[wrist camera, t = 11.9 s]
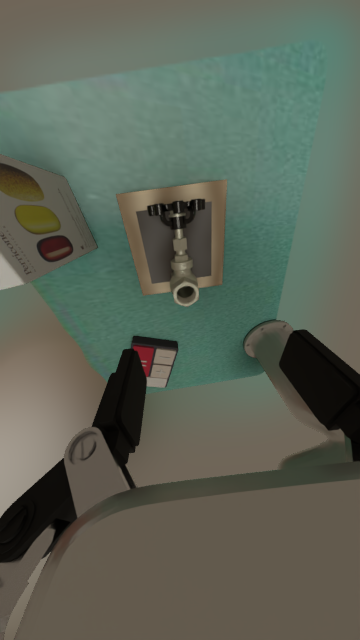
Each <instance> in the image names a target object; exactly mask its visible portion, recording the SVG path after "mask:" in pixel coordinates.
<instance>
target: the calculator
mask: <svg viewBox="0 0 360 640" xmlns="http://www.w3.org/2000/svg"><path fill="white" fill-rule="evenodd" d="M131 349H134V350H135V351H138V354H139V357H140V360H141V363H142V366H143V369H144V372H145V375H146V378H147V386H152V387H166V386H167V383H168V380H169V377H170V374H171V371H172V368H173V364H174V361H175V358H176V355H177V352H178V343H177V342H176V341H169V340H162V339H154V338H147V337H139V336H134V337H133V340H132V344H131Z"/></svg>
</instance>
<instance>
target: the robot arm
mask: <svg viewBox="0 0 360 640" xmlns="http://www.w3.org/2000/svg"><path fill="white" fill-rule="evenodd" d="M244 350H245V351H246V353H247V354H248V355H249V356H251V357H253V358H257V359H258V361H259V363H260V364H261V366H262V367H263V369H264V371H265V372H266V374H267V375H268V377H269V378H270V380H271V382H272V383H273V385H274V387H275V388H276V390H277V391H278V393H279V394H280V396H281V398H282V399H283V401H284V402H285V404H286V406H287V407H288V409H289V410H290V412H291V413H292V414H293V416H294V417H295V418H296V419H298V420H299V421H300V422H301V423H303V424H304V425H306V426H308V427H310V428H312V429H314V430H316V431H318V432H320V433H322V434H324V435H326V436H327V438H328V439H327V441H326V442H323V443H321V444H320V445H317V446H314V447H311V448H308V449H306V450H302V451H300V452H297V453H294V454H291V455H289V456H286V457H285V458H283V459H282V460H281V461H280V463H279V465H278V470H272V471H264V472H255V473H246V474H237V475H229V476H220V477H211V478H203V479H194V480H185V481H178V482H171V483H163V484H156V485H149V486H145V487H139V488H138V486H137V484H136V482H135V480H134V478H133V476H132V474H131V472H130V470H129V468H128V467H127V464H126V463H127V462H128V457H129V453H134V452H135V446H138V445H139V441H140V433H141V426H142V418H143V410H144V402H145V394H146V386H147V378H146V375H145V372H144V369H143V366H142V363H141V360H140V357H139V354H138V351H135V350H134V349H124V350H123V352H122V355H121V358H120V361H119V364H118V367H117V370H116V372H115V373H112V374H111V375H110V377H109V380H108V383H107V386H106V388H105V391H104V394H103V397H102V399H101V402H100V405H99V408H98V411H97V413H96V416H95V419H94V422H93V425H92V427H88V428H85V429H83V430H82V431H80V432H79V433H78V434H77V435H75V436H74V437H73V439H72V440H71V441H70V443H69V444H68V446H67V449H66V451H65V454H64V458H63V459H62V460H61V461H60V462H58V463H57V464H56V465H55V466H54V467H53V468H52V469H51V470H50V471H49V472H47V473H46V474H45V475H44V476H43V477H42V478H41V479H39V480H38V481H37V482H36V483H35V484H34V485H33V486H32V487H31V488H30V489H28V490H27V491H26V492H25V493H24V494H23V495H22V496H21V497H19V498H18V499H17V500H16V501H15V502H14V503H13V504H12V505H11V506H10V507H9V508H8V509H7V510H6V511H5V512H4V514H3V515H2V516H1V518H0V640H4V634H5V629H6V626H7V623H8V620H9V617H10V614H11V613H12V611H13V609H14V607H15V605H16V603H17V601H18V599H19V598H20V596H21V594H22V593H23V592H24V590H25V588H26V587H27V585H28V584H29V583H28V582H27V580H28V579H29V577H30V576H31V574H32V573H33V571H34V570H35V568H36V566H37V565H38V563H39V562H40V560H41V559H42V558H44V557H46V556H47V555H48V554H49V552H51V553H50V555H49V557H48V559H47V561H46V563H45V565H44V567H43V569H42V572H41V574H40V576H39V578H38V581H37V583H36V585H35V587H34V590H33V592H32V595H31V597H30V600H29V602H28V604H27V607H26V609H25V612H24V615H23V617H22V620H21V622H20V625H19V627H18V630H17V633H16V635H15V638H14V640H360V374H358V373H357V372H356V371H355V370H354V369H352V368H351V367H350V366H349V365H348V364H346V363H345V362H344V361H343V360H341V359H340V358H339V357H338V356H337V355H336V354H334V353H333V352H332V351H331V350H329V349H328V348H327V347H326V346H325V345H324V344H322V343H321V342H320V341H319V340H318V339H316V338H315V337H314V336H313V335H312V334H311V333H309V332H308V331H307V330H295V331H293V328H292V327H291V326H290V325H289V324H288V323H287V322H284V321H280V320H273V321H268V322H265V323H262V324H260V325H258V326H257V327H255V328H254V329H253V330H251V331H250V332H249V333H248V335H247V336H246V338H245V340H244Z"/></svg>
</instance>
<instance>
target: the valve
mask: <svg viewBox="0 0 360 640" xmlns="http://www.w3.org/2000/svg"><path fill="white" fill-rule="evenodd" d="M184 209H188V211H190V216H189V218H188V219H186V213H184ZM204 209H205V199H201V198H200V199H192V200H191V201H186V202H183V200H181V201H173V202H172V203H170V204H164V203H159V204H153V205H149V206H147V210H148V215H149V216H154V214H155V216H159V215H160V220H161V222H162V223H163V224H164V225H165V226H170V229H171V230H175V238H173V246H174V251H176V255H175V259H172V260H171V268H172V269H173V270H174V271H173V272H172V273H171V277H172V278H171V280H170V290H171V292H172V294H173V295H174V301H175V303H177V304H180V305H182V306H186V307H188V306H190V305H192V304H193V303H195V302H196V301H197V300H198V299H199V288H198V281H197V278H196V277H195V275H194V274H193V273H192V271H191V268H192V267H193V261H192V258H190V257H188V255H187V253H185V250H186V249H187V240H186V237H183V229H184V228H186V224H189V223H191V222H192V221H193V220H194V218H195V215H196V211H199V210H204ZM166 211H170V215H169V221H168V220H167V219H166V215H165V212H166ZM171 214H173V215H171Z"/></svg>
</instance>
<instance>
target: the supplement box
mask: <svg viewBox="0 0 360 640" xmlns="http://www.w3.org/2000/svg"><path fill="white" fill-rule="evenodd" d="M97 248H98V247H97V245H96V243H95V241H94V239H93V236H92V234H91V232H90V230H89V228H88V225H87V223H86V221H85V219H84V217H83V215H82V212H81V210H80V208H79V206H78V204H77V202H76V199H75V197H74V195H73V193H72V191H71V189H70V186H69V184H68V182H67V180H66V178H65V177H63V176H60V175H57V174H54V173H51V172H48V171H46V170H43V169H40V168H38V167H35V166H32V165H29V164H26V163H24V162H21V161H18V160H15V159H13V158H10V157H7V156H4V155H1V154H0V290H2V289H6V288H10V287H14V286H18V285H23V284H27V283H29V282H31V281H33V280H35V279H37V278H39V277H41V276H43V275H45V274H47V273H49V272H51V271H53V270H55V269H57V268H59V267H61V266H63V265H65V264H67V263H69V262H71V261H73V260H75V259H77V258H78V257H80V256H82V255H84V254H86V253H88V252H90V251H92V250H94V249H97Z"/></svg>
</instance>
